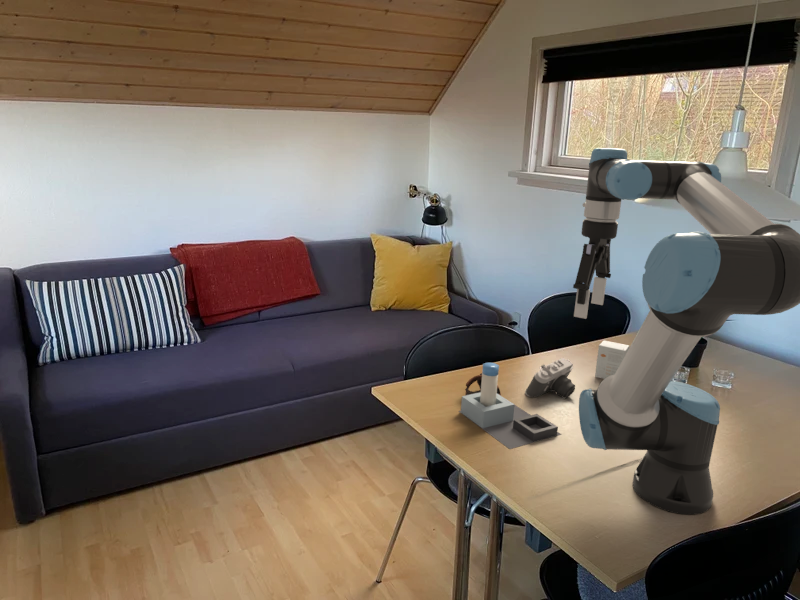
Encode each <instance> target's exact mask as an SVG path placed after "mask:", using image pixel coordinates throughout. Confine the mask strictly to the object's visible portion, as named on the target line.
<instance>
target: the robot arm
mask: <svg viewBox="0 0 800 600" xmlns="http://www.w3.org/2000/svg"><path fill="white" fill-rule="evenodd" d="M585 192H586V193H585V202H583V203H582V207H584V211H583V217H584V219H583V220H582V226H581V235H582V236H583V237H585V238H588V239H589V241H588V243H584V244H583V246H582V247H583V248H582V255H581V258H580V262H579V267H578V269H577V274H576V277H575V283H573V287H572V288H573V289H576V294H575V295H576V296H575V302H574V303H575V305H574V311H573V318H574V317H575V318H579V319H585V320H586V319H587V318H588V310H589V302H590V304H592V305H593V304H595V305H600V306H603V305H604V301H605V295H606V288H607V287H606V286H607V279H611V277H612V274H611V241H612V239H616V237H617V234H618V225H619V223H618V221H617V220H619V219H620V214H621V206H622V200H624V201H625V200H628V201H633V200H634V201H635V200H637V199H647V200H649V199H650V200H652V199H653V200H673V201H676V202H677V203H678V204H679V205H680V206H682V208H684V209H685V210H686V211H687V212H688V213H689V214H690V215H691V216H692V217H693V218H694V219H695V220H696V221H697V222H698V223H699V224H700V225H701V226H702V227H704V229H705V230H707V232H708V233H707V232H702V231H691V232H684V233H683V232H681V233H672V234H669V235H667V236H665V237H663V238H662V239H660V240H659V241H658V242H657V243H656V244H655V245H654V246H653V247H652V249H651V251H650V252H649V254H648V256H647V258H646V261H645V264H644V266H643V268H644V270H645V271H644V273H643V274H642V280H641V282H642V284H641V285H642V292H643V297H644V300H645V302H646V303H647V306H648V309H649V312H648V314H647V315H646V317H645V319H644V321H643V323H642V324H641V326H640V327H639V330H638V332H636V333H637V334H636V336H634V339H633V341H632V342H631V344H630V345H629V350H628V351H627V353H626V355H625V357H624V359H623V360H622V362H621V364H620V366H619V368H618V370H617V371H616V373H615V375H611V376H609V377H607V378H605V379H603V380H602V381H601V382H600V384H599V385H598V387H597V388H596V389H592V388H588V389H583V390H582V391H581V392H580V394H579V400H578V418H579V426H580V432H581V434H582V438H583V441H584V442H585V443H586V445H587V446H588V447H589V448H591V449H600V450H604V451H606V450H614V451H615V450H616V451H617V450H619V451H621V450H623V451H646V452H645V454H644V456H643V458H642V459H641V460H640V462H639V464H638V465H637V467H636V469H635V470H634V473H633V477H632V478H633V479H632V487H633V489H634V491H635V492H636V494H637V495H638V496H639V497H641V498H642V499H643V500H644V502H647V503H649V504H650V505H652V506H654V507H656V508H659V509H661V510H664V511H665V512H666V511H668V512H671V513H675V514H678V515H679V514H681V515H698V514H703V513H705V512H707V511H708V510H709V509H710V508H711V507H712V504H713V499H714V490H713V485H712V479H711V478H712V477H711V472H710V464H711V458H712V454H713V448H714V444H715V440H716V434H717V429H718V425H719V424H720V413H721V412H720V411H721V405H720V403H719V401H718V400H717V398H716V397H714V396H713V395H712V394H711V393H709V392H707V391H705V390H703V389H702V388H699V387H696V386H695V385H691V384H689V383H685V382H680V381H675V380H673V379H674V377H675V376H676V375H677V373H678V371H680V369H681V367H682V366H683V365H684V363H685V362H686V360H687V358H688V357H689V356H690V355H691V353H692V352H693V350H694V348H695V346H697V344H698V343H699V341H700V340H701V338H702V337H708V336H711V335H713V334H716V333H717V332H718V331H720V329H721V328H722V327H723V325H724V324H725V323H726V321H727V320H728V319H729V317H730V316H732V315H748V316H749V315H750V316H751V315H757V316H765V315H776V314H781V313H784V312H786V311H789V310H792V309H793V308H795V307H797V306H799V304H800V233H799V232H798V231H796V230H795V229H793V228H792V227H791V226H790V225H786V224H784V223H774V222H772V221H771V220H770V219H769V218H767V216H765V215H763V214H762V213H761V212H759V210H757V209H755V207H753V206H752V205H751V204H749V203H748V202H746V201H745V200H744V199H743V198H741V197H740V196H739V195H737V194H736V193H735V192H733V191H732V189H729V188H728V186H726V185H724V184H723V183H722V173H721V172H720V168H719V167H718V166H717V165H716V164H714V163H710V162H702V161H668V160H667V161H664V160H641V159H640V160H637V159H628V151H627V150H626V149H625V148H613V147H612V148H611V147H604V148H603V147H596V148H593V150H592V151H591V153H590V160H589V162H588V176H587V185H586V191H585ZM709 233H710V234H709ZM594 274H595V276H594ZM593 277H594V278H593ZM592 280H593V285H592V286H593V287H592V291H591V289H590V286H591V284H592ZM591 292H592V293H591ZM590 295H591V301H590Z"/></svg>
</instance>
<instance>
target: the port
mask: <svg viewBox="0 0 800 600" xmlns="http://www.w3.org/2000/svg"><path fill="white" fill-rule="evenodd" d="M480 395H481V392H479V393H475V394H470V395H466V396H465V395H461V405H460V411H461V413H463V414H464V415H465V416H467V417H468V418H469V419H471V420H472V421H473V422H475V423H476V424H478V425H479V426H480V427H482V428H486V427H490V426H494V425H498V424H502V423H505V422H509V421H513V416H514V405H516V404H515V403H513V402H511V401H510V400H508V399H507V398H505V397H503V396H502V394H501V395H499V394H497V395H496V405H491V406H487V407H485V406H484V405H482V404H481V403H480ZM461 413H460V414H461ZM463 414H462V415H463ZM464 415H463V416H464ZM465 416H464V417H465ZM467 417H466V418H467ZM468 418H467V419H468ZM469 419H468V420H469ZM471 420H470V421H471ZM472 421H471V422H472ZM473 422H472V423H473ZM475 423H474V424H475ZM476 424H475V425H476ZM478 425H477V426H478ZM479 426H478V427H479ZM480 427H479V428H480ZM482 428H481V429H482Z"/></svg>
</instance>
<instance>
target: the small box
mask: <svg viewBox="0 0 800 600" xmlns="http://www.w3.org/2000/svg"><path fill="white" fill-rule="evenodd" d="M629 348H630V344H629V345H628V344H623V343H619V342H615V341H614V342H613V341H609V340H602V342H601V343H599V345H598V350H597V358H596V365H595V367H596V368H595V375H594V377H595V378H598V379H603V380H604V379H605V378H607V377H609V376H611V375H615V373H616V371H617V370H618V368H619V366H620V364H621V362H622V360H623V359H624V357H625V355H626V353H627V351H628V350H629Z"/></svg>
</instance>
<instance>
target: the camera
mask: <svg viewBox="0 0 800 600" xmlns="http://www.w3.org/2000/svg"><path fill="white" fill-rule="evenodd" d="M573 365H574V363H573V362H571V360H570V359H569V358H567V359H566V358H565V357H564V356H563V357H560V358H559V359H556V360H555V361H552V362H551V363H548V364H546V365H545V364H541V366H539V370H538V371H537V372H535V374H534V375H533V377H532V379H531V381H530V383H529V385H528V387H527V388H526V390H525V391H524V394H525V395H526V397H530V398H538V397H540V396H542V395H545V394H546V393H548V392H555V394H556V395H557V396H560V397H561V398H562V399H567V398H569V397H570V396H571V395H572V394H573V393H574V392H575V390H576V384H574V383H573V382H572V379H571V378H568V377H569V375H570V374H571V372H572V370H573V369H574V366H573Z"/></svg>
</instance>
